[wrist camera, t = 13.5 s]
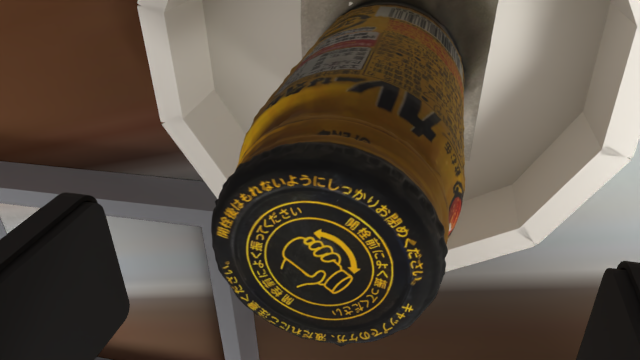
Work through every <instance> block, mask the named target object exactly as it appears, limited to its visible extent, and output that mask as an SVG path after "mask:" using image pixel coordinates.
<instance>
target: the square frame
mask: <svg viewBox="0 0 640 360" xmlns="http://www.w3.org/2000/svg"><path fill="white" fill-rule="evenodd" d="M66 192H68V193H76V194H84V195H90V196H93V197H94V198H95V199H96V200H97V202H98V204H100V205H101V206H102V207H103V209H104V212H105V215H106V216H114V217H123V218H131V219H139V220H148V221H156V222H165V223H173V224H181V225H190V226H198V227H201V228H202V234H203V239H204V245H205V250H206V256H207V261H208V267H209V272H210V278H211V284H212V289H213V295H214V300H215V306H216V311H217V317H218V322H219V328H220V333H221V339H222V345H223V350H224V356H225V360H259V353H258V345H257V337H256V330H255V322H254V314H253V311H252V310H250V309H249V308H247V307H246V306H245V305H244V304H243V303H242V302H241V301H240V300H239V299H238V298H237V296H236V295H235V293H234V291H233V289H232V288H231V287H230V285H229V284H228V282H227V281H226V280H225V279H224V277H223V276H222V274H221V273H220V271H219V270H218V265H217V262H216V260H215V253H214V250H213V247H212V233H211V222H212V214H213V210H214V208H215V207H216V204H215V201H216V200H217V198H216V196H215V195H214V194H213V192H212V191H211V190H210V188H209V187H208V186H207V184H206V183H205V182H204V181H194V180H184V179H174V178H164V177H154V176H144V175H134V174H124V173H114V172H104V171H94V170H84V169H74V168H64V167H54V166H43V165H33V164H23V163H13V162H3V161H0V203H5V204H13V205H21V206H30V207H38V208H42V207H43V206H44V205H46V204H47V203H48V202H50V201H51V200H52V199H54V198H55V197H56V196H57V195H59V194H61V193H66ZM5 235H7V233H6V231H5V229H4V226H3V224H2V222H1V219H0V239H2V238H3V237H4V236H5ZM95 360H111V359H105V358H100V357H96V358H95Z"/></svg>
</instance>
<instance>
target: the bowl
mask: <svg viewBox="0 0 640 360" xmlns="http://www.w3.org/2000/svg"><path fill="white" fill-rule="evenodd" d="M137 3H138V4H139V6H137V9H138V14H139V18H140V23H141V28H142V33H143V38H144V43H145V48H146V53H147V58H148V63H149V67H150V72H151V77H152V82H153V87H154V92H155V97H156V102H157V107H158V112H159V116H160V121H161V122H164V123H163V124H162V125H163V127H164V128H165V129H166V131H167V132H168V133H169V135H170V136H171V137H172V139H173V140H174V141H175V143H176V144H177V145H178V147H179V148H180V149H181V151H182V152H183V153H184V155H185V156H186V157H187V159H188V160H189V162H190V163H191V164H192V166H193V167H194V168H195V170H196V171H197V172H198V174H199V175H200V176H201V178H202V179H203V180H204V182H205V183H206V184H207V186H208V187H209V188H210V190H211V191H212V192H213V194H214V195H215V196H216V198H217V199H218V198H219V194H220V192H221V190H222V189H223V186H222V185H223V184H224V183H225V182H226V181H227V179H228V177H229V176H231V175H232V174H234V172H235V170H236V167H237V165H238V162H239V156H240V152H241V147H242V145H243V142H244V138H245V135H246V133H247V132H248V131H249V129H250V127H251V125H252V123H253V120H254V117H255V116H256V115H257V114H258V112H259V110H260V109H261V108H262V107H263V106H264V105H265V104H266V102H267V101H268V99H269V98H270V97H271V95H272V94H273V93H274V92H275V91H276V90H277V89H278V87H279V86H280V85H281V84H282V83H283V81H284V79H285V78H286V77H287V76H288V75H289V74H290V71H291V69H292V68H293V67H294V66H296V65H297V64H298V63H299V62H300V61H301V60H302V46H301V0H138V2H137ZM352 4H353V3H352V2H349V6H350V5H352ZM639 138H640V0H498V5H497V10H496V17H495V22H494V27H493V33H492V37H491V45H490V50H489V55H488V62H487V65H486V71H485V76H484V81H483V87H482V92H481V98H480V103H479V109H478V115H477V120H476V126H475V131H474V137H473V143H472V148H471V154H470V160H469V161H466V160H465V165H464V174H465V192H464V196H463V202H462V208H461V212H460V215H459V217H458V220H457V222H456V225H455V228H454V230H453V231H452V233H451V235H450V237H449V238H448V241H447V248H448V253H447V255H446V257H445V261H446V268H445V272H448V271H451V270H455V269H458V268H461V267H465V266H468V265H472V264H475V263H479V262H482V261H486V260H489V259H493V258H496V257H499V256H503V255H506V254H510V253H513V252H517V251H520V250H524V249H527V248H531V247H534V246H535V244H537V245H538V244H539V243H540V242H541V241H542V240H543V239H545V238H546V237H547V236H548V235H549V234H550V233H551V232H552V231H553V230H554V229H556V228H557V227H558V226H559V225H560V224H561V223H562V222H563V221H564V220H566V219H567V218H568V217H569V216H570V215H571V214H572V213H573V212H574V211H576V210H577V209H578V208H579V207H580V206H581V205H582V204H583V203H584V202H586V201H587V200H588V199H589V198H590V197H591V196H592V195H593V194H594V193H596V192H597V191H598V190H599V189H600V188H601V187H602V186H603V185H604V184H606V183H607V182H608V181H609V180H610V179H611V178H612V177H613V176H614V175H616V174H617V173H618V172H619V171H620V170H621V169H622V168H623V167H624V166H625V165H627V164H628V163H629V162H630V161H631V159H630V158H633V156H634V153H635V150H636V147H637V144H638V141H639ZM534 243H535V244H534Z"/></svg>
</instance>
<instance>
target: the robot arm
mask: <svg viewBox="0 0 640 360" xmlns="http://www.w3.org/2000/svg"><path fill="white" fill-rule="evenodd" d="M129 306H130V304H129V299H128V296H127V292H126V288H125V285H124V281H123V277H122V274H121V270H120V266H119V263H118V259H117V255H116V252H115V248H114V244H113V241H112V237H111V234H110V230H109V226H108V223H107V219H106V215H105V212H104V209H103V207H102V206H101V205H100V204H98V202H97V200H96V199H95V198H94V197H93V196H90V195H84V194H76V193H68V192H66V193H61V194H59V195H57V196H56V197H55V198H54V199H52V200H51V201H50V202H48V203H47V204H46V205H44V206H43V207H42V208H41V209H39V210H38V211H37V212H35V213H34V214H33V215H31V216H30V217H29V218H28V219H26V220H25V221H24V222H22V223H21V224H20V225H18V226H17V227H16V228H15V229H13V230H12V231H11V232H9V233H8V234H7V235H5V236H4V237H3V238H2V239H0V360H95V358H96V357H97V356H98V354H99V353H100V352H101V351H102V349H103V348H104V347H105V345H106V344H107V343H108V342H109V340H110V339H111V338H112V336H113V335H114V334H115V333H116V331H117V330H118V329H119V327H120V326H121V325H122V324H123V322H124V321H125V319H126V318H127V315H128V313H129ZM576 360H640V263H637V262H628V261H622V262H621V263H620V264H619V265H618V267H617V269H612V268H608V269H606V271H605V273H604V275H603V278H602V281H601V284H600V287H599V290H598V293H597V296H596V300H595V303H594V306H593V309H592V312H591V315H590V318H589V321H588V324H587V327H586V330H585V334H584V337H583V340H582V343H581V346H580V349H579V352H578V355H577V358H576Z"/></svg>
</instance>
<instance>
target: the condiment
mask: <svg viewBox="0 0 640 360" xmlns="http://www.w3.org/2000/svg"><path fill="white" fill-rule="evenodd" d="M349 2H352V3H353V4H352V5H350V6H349ZM497 5H498V0H301V46H302V60H301V61H300V62H299V63H298V64H297V65H296V66H294V67H293V68H292V69H291V71H290V74H289V75H288V76H287V77H286V78H285V79H284V81H283V83H282V84H281V85H280V86H279V87H278V89H277V90H276V91H275V92H274V93H273V94H272V95H271V97H270V98H269V99H268V101H267V102H266V104H265V105H264V106H263V107H262V108H261V109H260V110H259V112H258V114H257V115H256V116H255V117H254V120H253V123H252V125H251V127H250V129H249V131H248V132H247V133H246V135H245V138H244V142H243V145H242V147H241V152H240V156H239V162H238V165H237V167H236V170H235V172H234V174H232V175H231V176H229V177H228V179H227V181H226V182H225V183H224V184H223V185H222V186H223V189H222V190H221V192H220V194H219V198H218V199H217V200H216V201H215V204H216V207H215V208H214V210H213V214H212V222H211V233H212V247H213V250H214V253H215V260H216V262H217V265H218V270H219V271H220V273H221V274H222V276H223V277H224V279H225V280H226V281H227V282H228V284H229V285H230V287H231V288H232V289H233V291H234V293H235V295H236V296H237V298H238V299H239V300H240V301H241V302H242V303H243V304H244V305H245V306H246V307H247V308H249V309H250V310H252V311H253V312H254V313H256V314H257V315H259V316H260V317H262V318H263V319H265V320H266V321H268V322H269V323H271V324H273V325H274V326H276V327H279V328H281V329H283V330H285V331H287V332H289V333H292V334H294V335H296V336H299V337H301V338H305V339H313V340H316V341H319V342H330V343H335V344H337V345H339V346H344V345H346V344H348V343H365V342H371V341H376V340H378V339H381V338H384V337H387V336H389V335H391V334H393V333H395V332H397V331H399V330H403V329H406V328H408V327H410V325H411V324H412V323H413V322H414V321H415V320H416V319H417V318H418V317H419V316H420V315H421V314H422V312H423V311H424V310H425V309H426V308H427V307H428V306H429V305H430V304H431V302H432V301H433V300H434V299H435V297H436V295H437V292H438V289H439V287H440V284H441V281H442V278H443V276H444V274H445V268H446V261H445V257H446V255H447V253H448V248H447V241H448V238H449V237H450V235H451V233H452V231H453V230H454V228H455V225H456V222H457V220H458V217H459V215H460V212H461V208H462V202H463V196H464V192H465V174H464V165H465V160H466V161H469V160H470V154H471V148H472V143H473V137H474V131H475V126H476V120H477V115H478V109H479V103H480V98H481V92H482V87H483V81H484V76H485V71H486V65H487V62H488V55H489V50H490V45H491V37H492V33H493V27H494V22H495V17H496V10H497Z"/></svg>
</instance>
